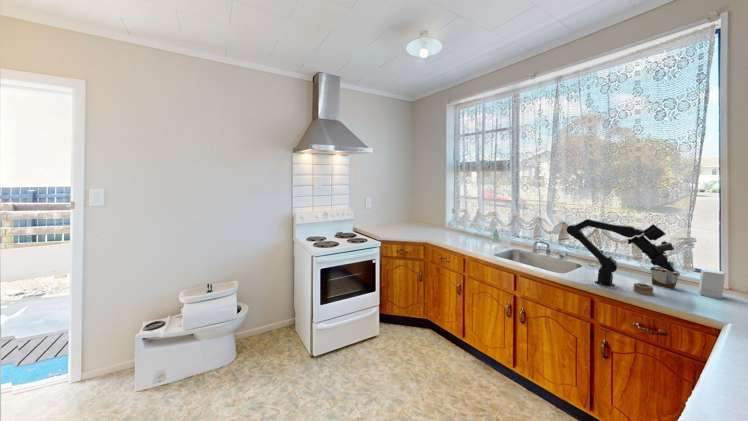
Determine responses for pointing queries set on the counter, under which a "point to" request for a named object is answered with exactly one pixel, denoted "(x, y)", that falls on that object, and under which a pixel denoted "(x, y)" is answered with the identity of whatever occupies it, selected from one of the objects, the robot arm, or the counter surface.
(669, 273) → the teal-capped metal tube
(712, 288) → the supplement box
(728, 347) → the counter surface
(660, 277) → the food container
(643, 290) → the brown octagonal ring
